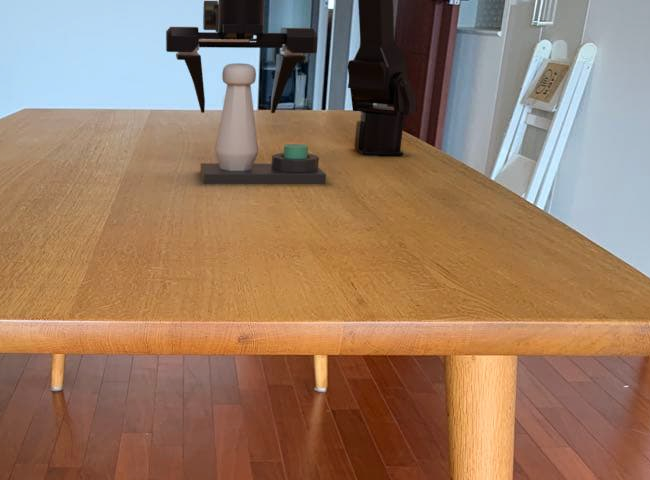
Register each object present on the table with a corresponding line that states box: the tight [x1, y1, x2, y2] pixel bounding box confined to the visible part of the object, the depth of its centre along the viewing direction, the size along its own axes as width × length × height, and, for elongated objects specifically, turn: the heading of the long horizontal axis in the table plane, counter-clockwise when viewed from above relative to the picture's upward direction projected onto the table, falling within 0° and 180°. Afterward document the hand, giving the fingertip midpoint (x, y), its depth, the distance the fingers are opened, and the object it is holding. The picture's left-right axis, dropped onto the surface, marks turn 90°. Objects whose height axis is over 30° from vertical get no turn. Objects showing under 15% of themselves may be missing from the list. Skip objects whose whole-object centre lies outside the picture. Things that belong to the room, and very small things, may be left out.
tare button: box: [283, 143, 309, 159], centre depth 108 cm, size 3×3×2 cm
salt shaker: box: [214, 62, 259, 171], centre depth 106 cm, size 6×6×13 cm
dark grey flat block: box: [200, 152, 327, 185], centre depth 109 cm, size 16×8×3 cm, turn 93°
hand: (237, 112), depth 106 cm, fingers open, 9 cm apart
